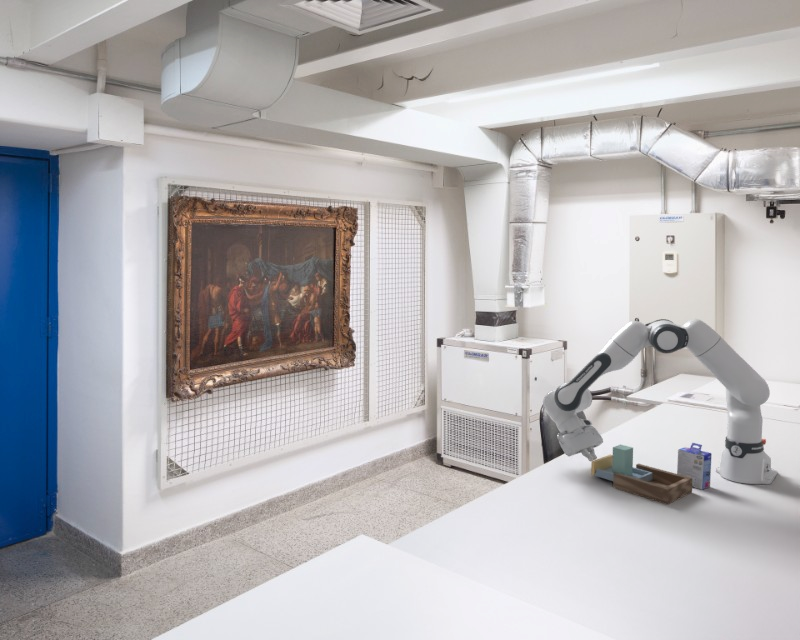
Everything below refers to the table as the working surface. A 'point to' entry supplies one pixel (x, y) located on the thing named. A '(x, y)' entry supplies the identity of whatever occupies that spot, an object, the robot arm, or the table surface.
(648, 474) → the tray
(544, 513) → the table surface
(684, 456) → the ink cartridge box
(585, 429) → the robot arm
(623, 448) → the block
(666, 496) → the dock
